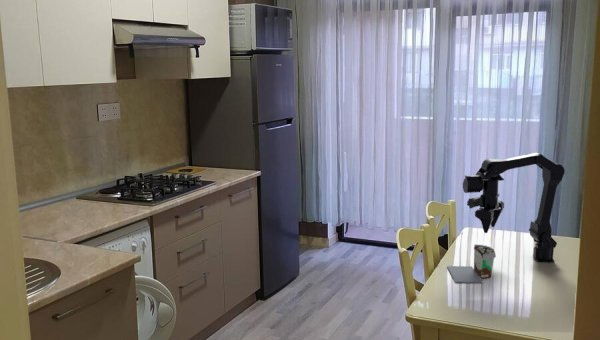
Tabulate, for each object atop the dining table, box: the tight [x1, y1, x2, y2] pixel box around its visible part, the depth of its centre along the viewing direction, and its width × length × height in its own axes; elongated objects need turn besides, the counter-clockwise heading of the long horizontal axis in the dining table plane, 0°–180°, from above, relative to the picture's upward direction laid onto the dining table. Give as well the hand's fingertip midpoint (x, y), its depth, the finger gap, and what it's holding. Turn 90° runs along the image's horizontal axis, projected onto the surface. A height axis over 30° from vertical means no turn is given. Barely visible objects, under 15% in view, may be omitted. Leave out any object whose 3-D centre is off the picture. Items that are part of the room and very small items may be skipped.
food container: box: [473, 244, 496, 280], centre depth 213 cm, size 12×6×10 cm, turn 179°
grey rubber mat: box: [446, 265, 483, 284], centre depth 213 cm, size 10×16×1 cm, turn 176°
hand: (489, 229), depth 226 cm, fingers open, 9 cm apart
